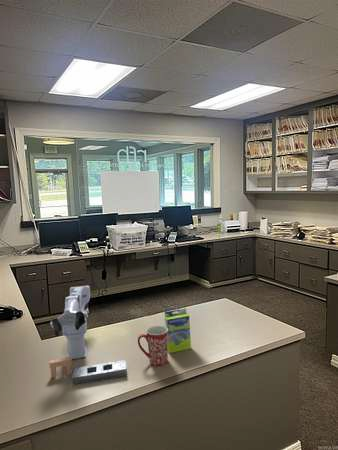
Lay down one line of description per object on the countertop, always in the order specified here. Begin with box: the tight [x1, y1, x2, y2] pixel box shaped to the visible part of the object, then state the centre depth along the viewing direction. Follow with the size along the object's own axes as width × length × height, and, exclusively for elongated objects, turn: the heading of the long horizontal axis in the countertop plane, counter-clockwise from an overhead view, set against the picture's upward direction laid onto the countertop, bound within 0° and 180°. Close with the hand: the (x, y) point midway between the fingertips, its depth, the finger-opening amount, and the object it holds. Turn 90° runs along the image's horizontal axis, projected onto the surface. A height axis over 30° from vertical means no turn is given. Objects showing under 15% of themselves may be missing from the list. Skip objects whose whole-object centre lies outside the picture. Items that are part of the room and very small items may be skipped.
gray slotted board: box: [71, 359, 128, 386], centre depth 128 cm, size 7×20×3 cm, turn 102°
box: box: [164, 307, 192, 354], centre depth 144 cm, size 11×4×17 cm, turn 108°
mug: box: [137, 325, 169, 367], centre depth 135 cm, size 13×9×14 cm
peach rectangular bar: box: [48, 356, 73, 378], centre depth 130 cm, size 2×8×6 cm, turn 102°
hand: (66, 330), depth 125 cm, fingers open, 7 cm apart
